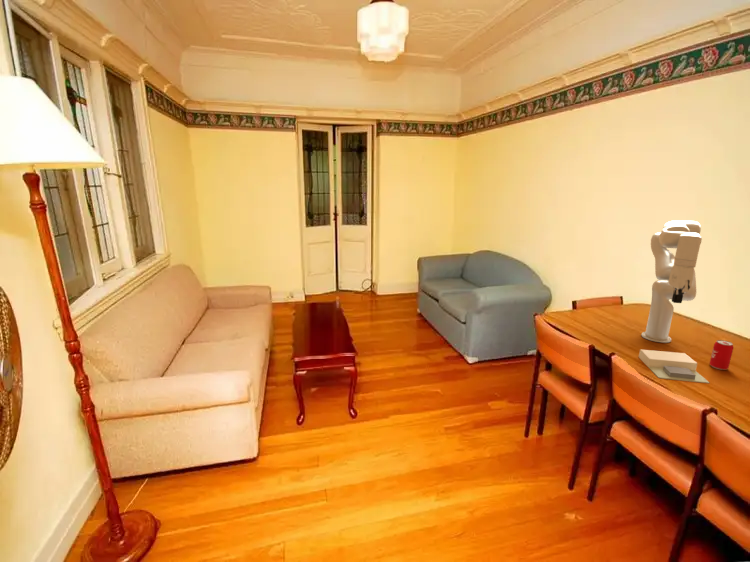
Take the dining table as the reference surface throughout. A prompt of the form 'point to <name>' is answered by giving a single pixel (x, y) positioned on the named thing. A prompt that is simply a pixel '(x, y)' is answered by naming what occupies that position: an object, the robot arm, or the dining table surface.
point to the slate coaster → (679, 372)
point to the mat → (663, 375)
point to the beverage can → (721, 354)
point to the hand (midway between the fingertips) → (676, 302)
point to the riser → (667, 359)
